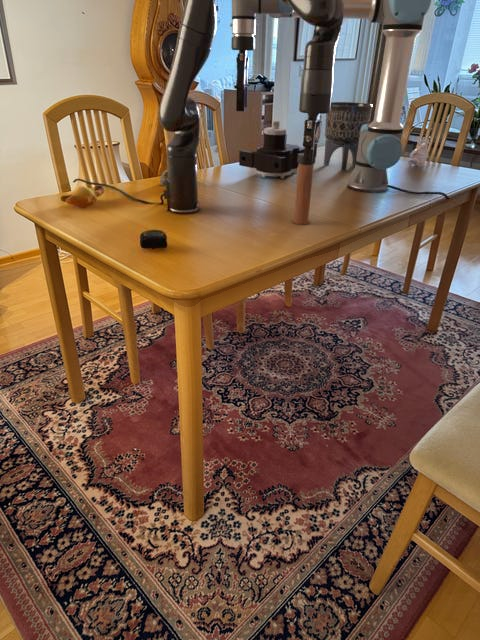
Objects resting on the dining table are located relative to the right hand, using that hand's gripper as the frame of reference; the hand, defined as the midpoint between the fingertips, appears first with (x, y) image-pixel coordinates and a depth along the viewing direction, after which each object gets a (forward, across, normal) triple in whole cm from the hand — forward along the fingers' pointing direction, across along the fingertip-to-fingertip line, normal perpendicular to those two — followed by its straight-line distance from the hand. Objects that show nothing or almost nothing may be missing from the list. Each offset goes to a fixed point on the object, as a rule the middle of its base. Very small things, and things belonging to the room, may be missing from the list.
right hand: (241, 109), depth 155 cm
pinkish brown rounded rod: (+28, +34, +21) cm, 48 cm away
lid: (+8, +34, +21) cm, 40 cm away
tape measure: (+28, +61, -18) cm, 69 cm away
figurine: (+28, -60, +80) cm, 104 cm away
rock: (+28, -7, -25) cm, 38 cm away
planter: (+28, -51, +44) cm, 73 cm away
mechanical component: (+28, -33, +15) cm, 46 cm away
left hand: (+7, +47, +21) cm, 52 cm away
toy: (+28, +24, -50) cm, 62 cm away
